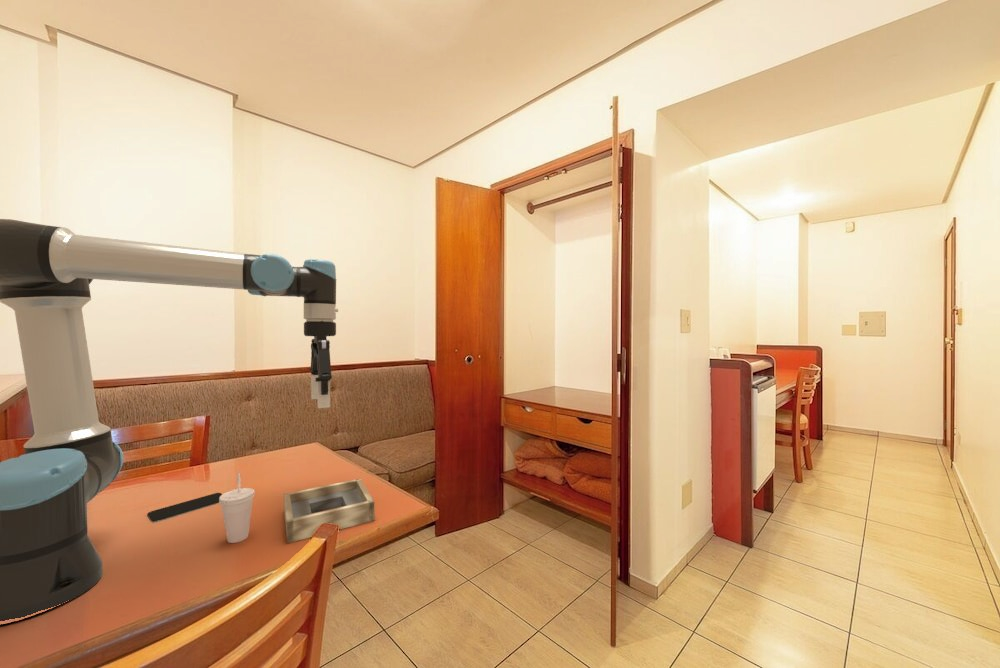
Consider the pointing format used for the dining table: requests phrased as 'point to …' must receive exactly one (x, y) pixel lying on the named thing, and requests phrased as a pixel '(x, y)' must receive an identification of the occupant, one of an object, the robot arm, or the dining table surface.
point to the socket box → (326, 497)
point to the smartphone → (183, 507)
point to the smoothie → (237, 512)
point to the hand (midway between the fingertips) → (320, 403)
